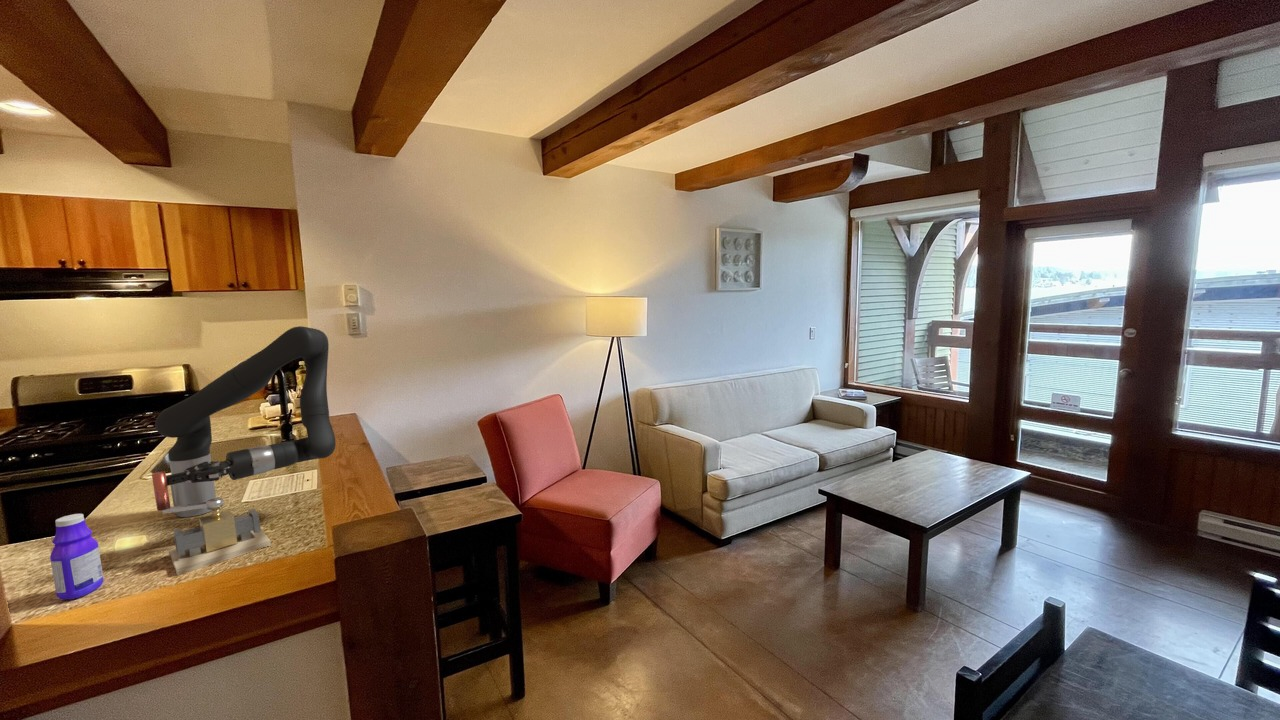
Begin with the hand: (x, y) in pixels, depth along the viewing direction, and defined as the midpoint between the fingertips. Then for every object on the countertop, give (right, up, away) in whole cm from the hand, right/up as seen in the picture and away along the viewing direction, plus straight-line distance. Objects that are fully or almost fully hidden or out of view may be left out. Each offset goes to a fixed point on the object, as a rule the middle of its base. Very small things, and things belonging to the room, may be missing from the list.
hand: (164, 481), depth 123 cm
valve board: (+10, -19, +4) cm, 22 cm away
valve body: (+10, -17, +4) cm, 21 cm away
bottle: (-6, -22, -13) cm, 26 cm away
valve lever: (+5, -8, +1) cm, 9 cm away
